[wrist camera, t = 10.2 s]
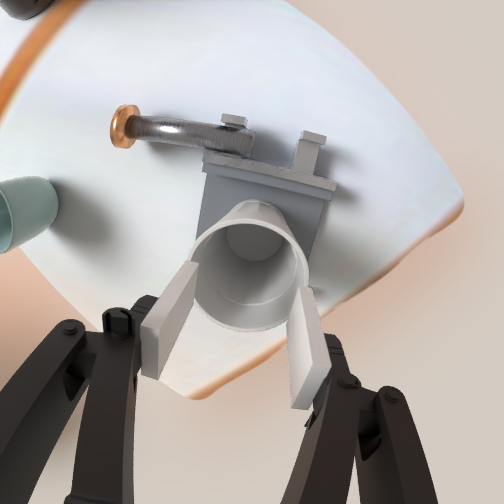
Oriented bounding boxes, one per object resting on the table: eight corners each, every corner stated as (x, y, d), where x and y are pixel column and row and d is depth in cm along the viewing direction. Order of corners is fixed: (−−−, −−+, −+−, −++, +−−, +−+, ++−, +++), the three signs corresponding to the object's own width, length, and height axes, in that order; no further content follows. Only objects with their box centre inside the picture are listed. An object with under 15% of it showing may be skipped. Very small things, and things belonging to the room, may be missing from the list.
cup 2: (275, 177, 27) (279, 196, 16) (306, 248, 30) (326, 308, 18) (203, 210, 29) (162, 250, 18) (237, 276, 31) (220, 345, 20)
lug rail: (220, 117, 27) (211, 111, 22) (337, 144, 27) (348, 143, 22) (211, 160, 28) (200, 161, 24) (326, 186, 28) (336, 192, 24)
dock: (211, 160, 28) (203, 160, 25) (326, 186, 28) (333, 190, 25) (193, 267, 32) (185, 279, 29) (297, 290, 32) (299, 304, 29)
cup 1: (75, 207, 31) (21, 229, 21) (47, 239, 32) (-2, 266, 23) (49, 160, 29) (-7, 170, 19) (23, 195, 30) (-27, 213, 21)
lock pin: (128, 147, 27) (107, 148, 23) (135, 107, 25) (115, 102, 21) (249, 167, 27) (245, 169, 23) (258, 123, 25) (256, 118, 21)
